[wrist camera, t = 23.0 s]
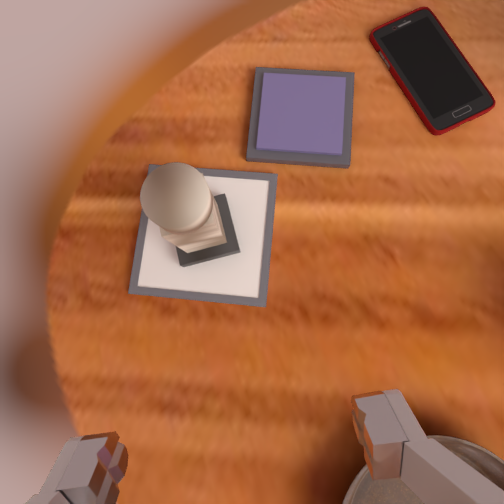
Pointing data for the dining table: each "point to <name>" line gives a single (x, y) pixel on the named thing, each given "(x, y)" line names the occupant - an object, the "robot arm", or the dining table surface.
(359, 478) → the plant saucer
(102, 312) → the dining table surface
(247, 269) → the marked square
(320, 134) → the ink pad
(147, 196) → the stamp
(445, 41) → the cell phone
